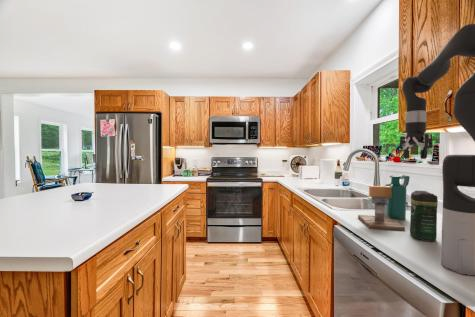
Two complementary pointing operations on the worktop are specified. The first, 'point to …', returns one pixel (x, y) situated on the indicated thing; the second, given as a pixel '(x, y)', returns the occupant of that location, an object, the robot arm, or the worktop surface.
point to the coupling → (380, 194)
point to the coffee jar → (423, 215)
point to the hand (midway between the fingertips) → (414, 158)
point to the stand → (380, 220)
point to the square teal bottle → (397, 198)
